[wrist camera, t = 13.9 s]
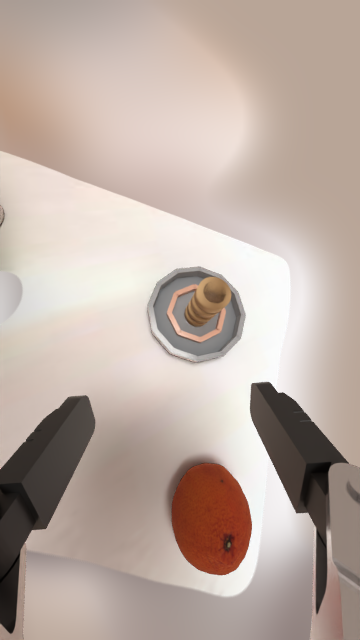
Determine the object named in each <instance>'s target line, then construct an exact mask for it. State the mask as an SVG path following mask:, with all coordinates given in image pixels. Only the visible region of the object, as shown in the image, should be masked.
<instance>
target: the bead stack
mask: <svg viewBox="0 0 360 640" xmlns="http://www.w3.org/2000/svg"><path fill="white" fill-rule="evenodd" d="M230 300H231V290H230V288H229V286H228V284H227V283H226V282H225V281H223V280H222V279H220V278H217V277H208V278H205V279H204V280H202V281H201V282H200V284H199V286H198V288H197V289H196V291H195V293H194V295H193V296H192V298H191V300H190V302H189V304H188V305H187V307H186V309H185V312H184V316H185V319H186V321H187V322H188V323H189V324H190V325H192V326H195V327H201V326H203V325H205V324H206V323H207V322H208V321H209V320H211V319H212V318H213V317H214V316H215V315H216V314H217V313H219V312H220V311H221V310H222V309H223V308H224V307H225V306H227V305H228V303H229V302H230Z"/></svg>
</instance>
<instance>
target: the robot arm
mask: <svg viewBox="0 0 360 640" xmlns="http://www.w3.org/2000/svg"><path fill="white" fill-rule="evenodd" d="M3 217H4V212H3V209H2V207H1V205H0V224H1V223H2V220H3ZM250 413H251V417H252V421H253V423H254V425H255V427H256V429H257V432H258V434H259V436H260V438H261V440H262V442H263V444H264V446H265V448H266V450H267V453H268V455H269V457H270V459H271V461H272V463H273V465H274V467H275V469H276V471H277V474H278V476H279V478H280V480H281V482H282V484H283V486H284V488H285V490H286V492H287V494H288V497H289V499H290V501H291V503H292V505H293V507H294V509H295V511H296V513H309V515H310V517H311V519H312V521H313V523H314V525H315V526H314V552H313V606H312V626H311V634H310V640H360V468H359V467H357V466H354V465H351V464H349V463H348V462H347V461H346V460H345V458H344V457H343V456H342V455H341V454H340V453H339V451H338V450H337V449H336V448H335V447H334V446H333V444H332V443H331V442H330V441H329V440H328V439H327V437H326V436H325V435H324V434H323V433H322V432H321V430H320V429H319V428H318V427H317V426H316V425H315V423H314V422H312V421H311V419H310V418H309V416H308V415H307V414H306V413H304V411H303V410H302V408H301V407H300V406H299V405H298V404H297V402H296V401H294V400H293V399H292V398H291V397H289V396H287V395H286V394H285V393H278V392H277V391H276V390H275V388H274V387H273V386H272V384H271V383H270V382H260V383H252V385H251V400H250ZM94 429H95V418H94V415H93V411H92V408H91V404H90V401H89V398H88V396H86V395H84V396H71V397H68V398H67V399H66V400H65V402H64V403H63V404H62V405H61V406H60V408H59V409H56V410H55V411H53V412H52V413H51V414H49V415H48V416H47V417H46V418H44V419H43V420H42V422H41V423H40V424H39V425H38V426H37V427H36V429H35V430H34V432H32V433H31V434H30V436H29V437H28V438H27V439H26V442H24V443H23V444H22V445H21V446H20V447H19V448H18V450H17V451H16V452H15V453H14V454H13V455H12V457H11V458H10V459H9V460H8V461H7V462H6V464H5V465H4V466H3V467H2V468H1V469H0V640H24V637H23V621H24V598H25V574H26V544H25V541H26V540H27V538H28V536H29V534H30V532H31V530H39V529H46V528H47V526H48V524H49V522H50V520H51V518H52V516H53V514H54V512H55V510H56V508H57V506H58V504H59V502H60V500H61V498H62V496H63V494H64V492H65V490H66V488H67V485H68V483H69V481H70V479H71V477H72V475H73V473H74V471H75V469H76V467H77V465H78V463H79V461H80V459H81V457H82V455H83V453H84V451H85V449H86V447H87V445H88V443H89V441H90V439H91V437H92V435H93V432H94Z"/></svg>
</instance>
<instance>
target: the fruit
mask: <svg viewBox="0 0 360 640" xmlns="http://www.w3.org/2000/svg"><path fill="white" fill-rule="evenodd" d="M172 526H173V531H174V534H175V538H176V541H177V544H178V546H179V548H180V551H181V552H182V554H183V555H184V557H185V558H186V560H187V561H188V562H189V563H190V564H192V565H193V566H194V567H195V568H197V569H198V570H200V571H203V572H207V573H209V574H215V575H226V574H229V573H230V572H232V571H234V570H236V569H237V568H238V567H239V565H240V563H241V562H242V560H243V559H244V558H245V555H246V552H247V550H248V547H249V541H250V537H251V531H252V521H251V515H250V510H249V505H248V502H247V499H246V497H245V495H244V493H243V491H242V489H241V487H240V485H239V483H238V482H237V480H236V479H235V478H234V477H233V476H232V475H231V474H230V473H229V472H228V470H227V469H226V468H224V467H223V466H221V465H218V464H209V463H202V464H200V465H197V466H194V467H192V468H190V469H189V470H188V471H187V472H186V474H185V475H184V476H183V478H182V479H181V480H180V483H179V484H178V487H177V489H176V492H175V494H174V497H173V501H172Z"/></svg>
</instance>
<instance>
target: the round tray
mask: <svg viewBox="0 0 360 640" xmlns="http://www.w3.org/2000/svg"><path fill="white" fill-rule="evenodd" d="M208 277H217V278H220V279H222V280H223V281H225V282H226V283H227V284H228V286H229V288H230V290H231V300H230V302H229V303H228V305H227V306H225V307H224V308H223V309H222V310H221V311H220V312H219V313H217V314H216V315H215V316H214V317H213V318H212V319H211V320H209V321H208V322H207V323H206V324H205V325H203V326H201V327H195V326H192V325H190V324H189V323H188V322H187V321H186V319H185V316H184V312H185V309H186V307H187V305H188V304H189V302H190V300H191V298H192V296H193V295H194V293H195V291H196V289H197V288H198V286H199V284H200V282H201V281H202V280H204V279H205V278H208ZM148 313H149V318H150V324H151V330H152V334H153V335H154V336H155V337H156V339H157V340H158V341H159V343H160V344H161V345H162V346H163V347H164V348H165V349H166V350H167V351H168V352H169V354H172V355H175V356H177V357H179V358H182V359H186V360H189V361H192V362H199V361H204V360H208V359H213V358H217V357H222V356H224V355H225V354H226V353H227V352H228V351H229V350H230V349H231V348H232V347H233V346H234V345H235V344H236V343H237V342H238V341H239V340H240V339H241V335H242V331H243V326H244V321H245V316H246V314H245V311H244V308H243V305H242V302H241V299H240V296H239V293H238V291H237V290H236V289H235V288H234V287H233V286H232V285H231V284H230V283H229V282H228V281H227V280H226V279H225V278H224V277H223V276H222V275H220V274H218V273H215V272H212V271H210V270H207V269H205V268H202V267H190V268H180V269H175V270H174V271H172V272H171V273H170V274H168V275H167V276H165V277H164V278H163V279H161V280H160V281H158V282H157V284H156V286H155V288H154V291H153V293H152V296H151V298H150V301H149V303H148Z"/></svg>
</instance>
